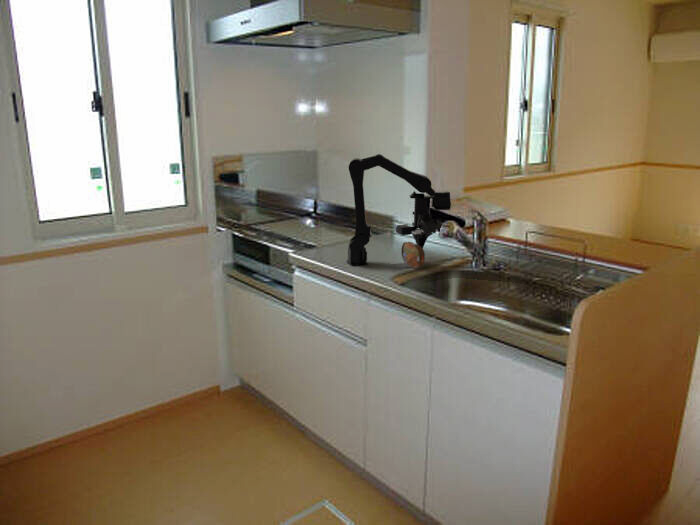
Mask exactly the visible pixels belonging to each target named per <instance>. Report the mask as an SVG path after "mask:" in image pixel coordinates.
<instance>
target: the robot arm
mask: <svg viewBox="0 0 700 525" xmlns="http://www.w3.org/2000/svg"><path fill="white" fill-rule="evenodd" d="M348 164H349V165H348V172H349V176H350V179H351V182H352V186H353V199H354V211H355V228H354V229H355V230H354V235H353V236H352V237H351V238H350V239H349V242H348V243H349V244H348V247H347V260H346V263H348V264H349V265H350V266H351V267H352V266H363V265H368V262H367V261H368V251H367V248H366V247H365V246H367V245H368V244H369V243H370V239H371V238H372V231H371V225H372V224H371V223H368V222H367V219H366V206H365V192H364V190H365V189H364V178H365V177H364V176H365V171H368V170H370V169H372V168H377V167H380V168H382V169H384V170H385V171H388V172H390V173H391V174H393V175H395V176H397V177H399V178H400V179H402V180H404V181H406V183H408V184H409V185H410V186H412V187H413V188H414V189H415V190H416V191H417V192H416V191H415V190H413V192H412V193H411V194H410V195H409V199H414V205H413V206H414V207H413V208H414V209H413V210H414V211H412V215H413V221H412V223H411V224H412V225H408V224H398V225H396V227H395V233H397V234H399V235H401V236H410V235H412V238H413V239H414V242H415V244H417V245H419V246H421V247H422V248H423V249H424V246H425V245H426V242H427V240H428V238H429V237H430V236H432V235H433V234H436V233H437V231H438V233H441V232H440V228H441V226H442V224H444V222H442V219H441V218H435V219H433V217H432V213H431V212H430V211H431V210H430V209H431V208H433V209H434V211H451V208H452V202H451V192H449V191H444V192H442V191H440V192H438V191H436V190H435V189H433V188H432V180H431V179H430V178H429V177H428V176H426V175H423V174H420V173H418V172H414V171H411V170H408V169H407V168H405V167H403V166H402V165H400V164H398V163H396V162H394V161H393V160H390V159H389V158H387V157H385V156H384V155H383V154H381V153H377V154H375V155H373V156H372V155H371V156H369V157H365V158H359V157H356V158H353V159H351V160H350V161H349V163H348ZM418 192H419V193H418ZM425 193H426V194H428V195H425Z"/></svg>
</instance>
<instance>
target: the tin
mask: <svg viewBox="0 0 700 525" xmlns="http://www.w3.org/2000/svg"><path fill="white" fill-rule="evenodd" d="M425 255H426V254H425V250H424V247H423V248H422V247H421V246H419V245H417V244H416V242H415V243H414V242H412V241H408V242H407V241H405V242H403V243H402V246H401V257H402V260H403V263H406V264H408V265H410V266H412V268H413V269H417V268H422V267H424V265H425V259H426V258H425V257H426V256H425Z"/></svg>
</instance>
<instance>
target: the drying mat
mask: <svg viewBox="0 0 700 525" xmlns="http://www.w3.org/2000/svg"><path fill="white" fill-rule="evenodd" d="M389 266H390V267H392V268H394V269H395V270H404V269H403V268H405V269H411V268H413V267H412V266H410V265H408V264H406V263H405V262H397V263H389Z"/></svg>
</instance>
